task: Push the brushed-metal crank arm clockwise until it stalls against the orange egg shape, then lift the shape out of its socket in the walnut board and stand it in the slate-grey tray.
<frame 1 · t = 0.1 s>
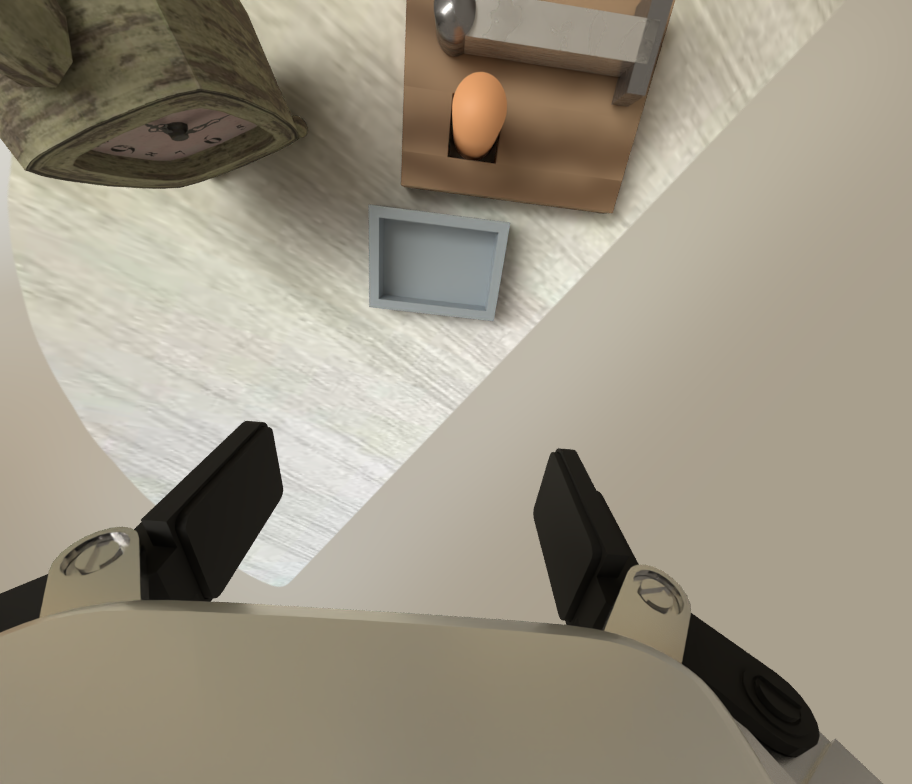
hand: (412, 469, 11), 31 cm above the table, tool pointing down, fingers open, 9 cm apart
crank arm: (545, 34, 25), point 5 cm above the table, hinge at 0.0°
parts tray: (437, 263, 37), on the table
orange egg shape: (473, 135, 32), resting in crank board
tabletop clock: (238, 116, 31), on the table
crank board: (519, 108, 31), on the table
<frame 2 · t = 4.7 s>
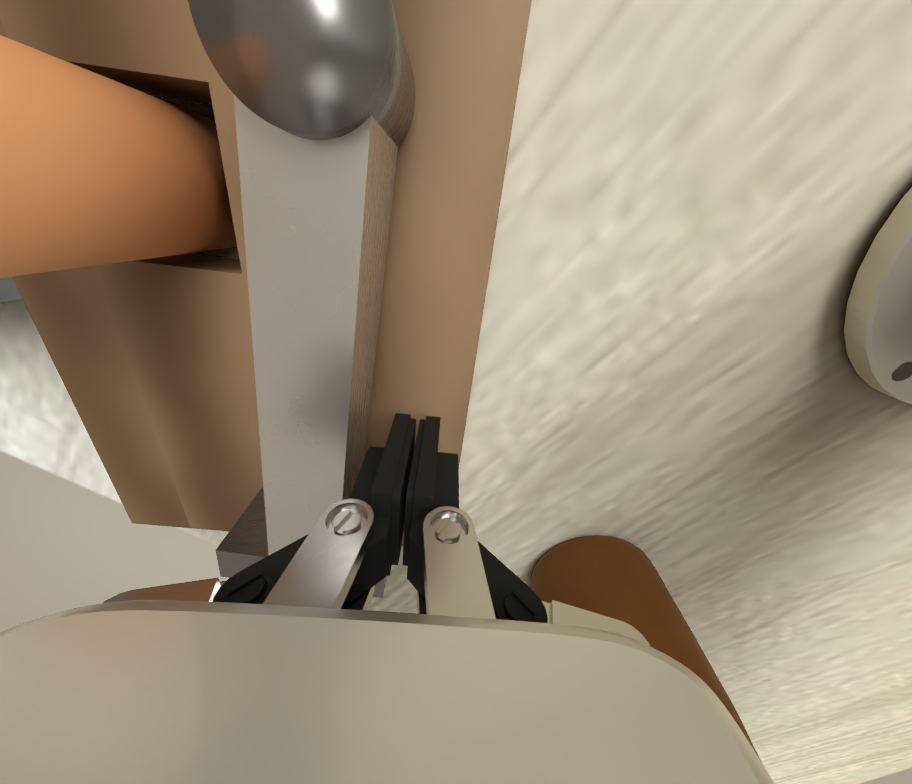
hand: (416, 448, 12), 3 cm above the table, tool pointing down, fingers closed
crank arm: (320, 374, 10), point 5 cm above the table, hinge at -5.6°, touching gripper
mug: (557, 581, 22), on the table
orange egg shape: (204, 185, 11), resting in crank board
crank board: (290, 309, 13), on the table
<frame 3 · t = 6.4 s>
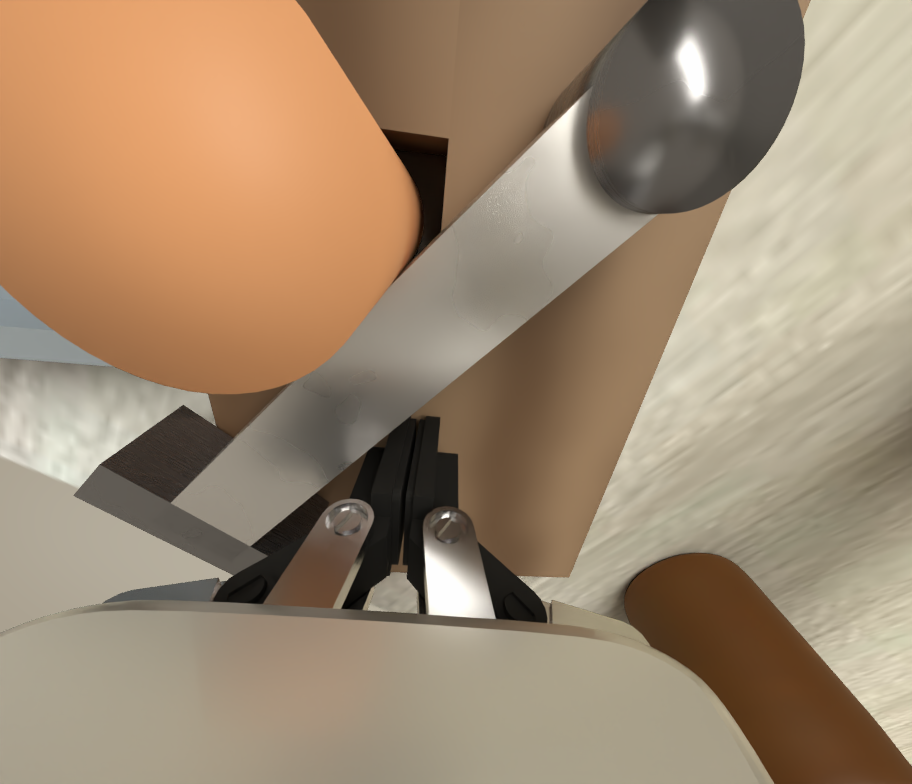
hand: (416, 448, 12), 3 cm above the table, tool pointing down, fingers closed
crank arm: (391, 352, 8), point 5 cm above the table, hinge at -42.4°, touching gripper, orange egg shape
mug: (645, 598, 22), on the table
orange egg shape: (364, 216, 11), resting in crank board, touching crank arm
crank board: (436, 346, 13), on the table
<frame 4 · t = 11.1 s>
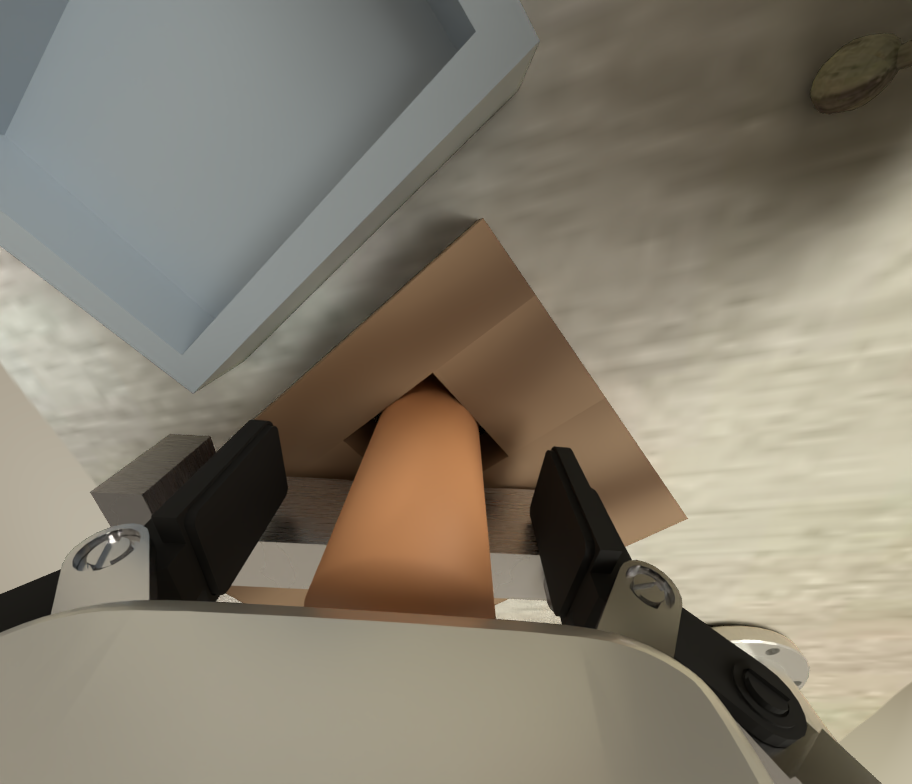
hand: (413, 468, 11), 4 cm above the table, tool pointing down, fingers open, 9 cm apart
crank arm: (390, 539, 12), point 5 cm above the table, hinge at -42.2°, touching orange egg shape
parts tray: (239, 112, 10), on the table
orange egg shape: (432, 407, 15), resting in crank board, touching crank arm
crank board: (404, 488, 17), on the table
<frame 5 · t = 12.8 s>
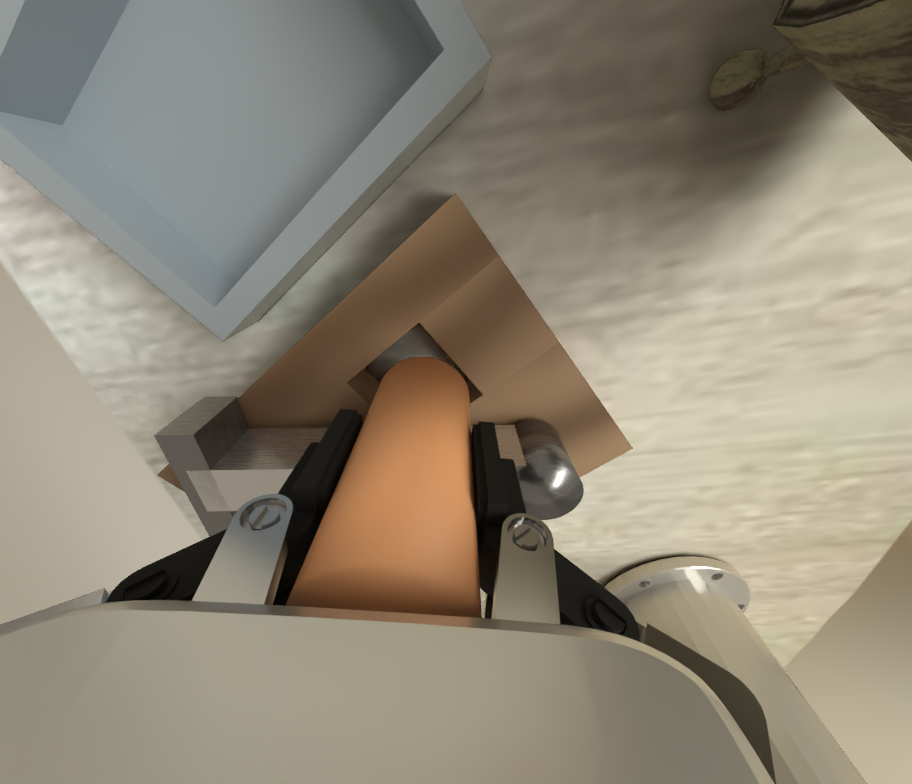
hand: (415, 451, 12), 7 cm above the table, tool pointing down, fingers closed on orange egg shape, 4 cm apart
crank arm: (387, 469, 15), point 5 cm above the table, hinge at -38.6°
parts tray: (257, 106, 13), on the table
orange egg shape: (424, 398, 15), point 4 cm above the table, touching gripper
crank board: (398, 434, 20), on the table
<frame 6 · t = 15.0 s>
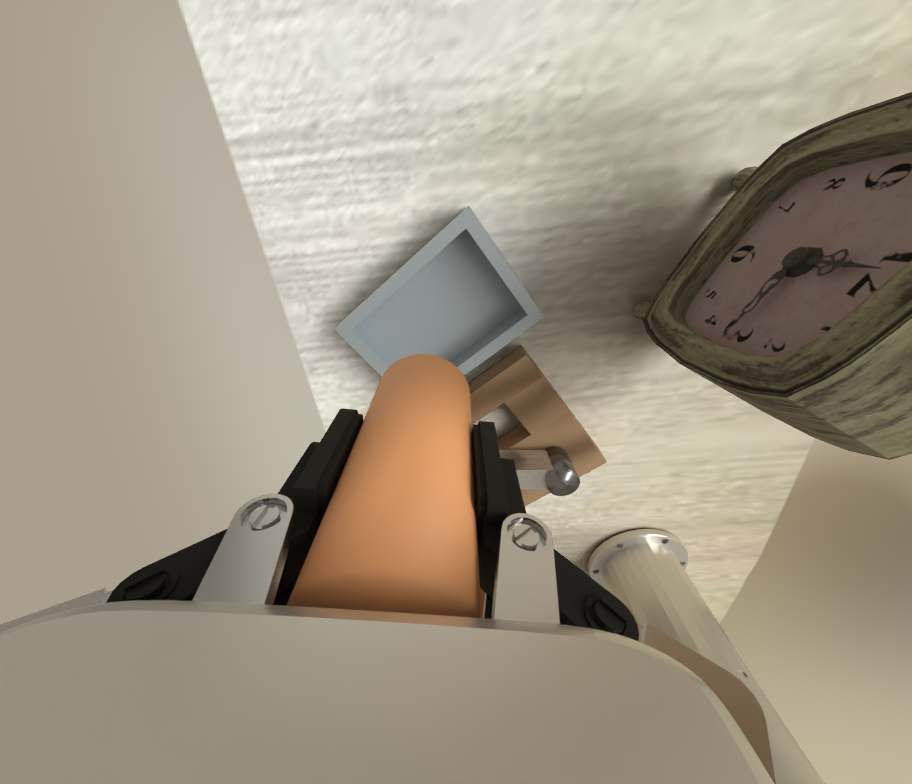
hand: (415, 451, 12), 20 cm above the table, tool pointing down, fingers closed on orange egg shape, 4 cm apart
crank arm: (485, 471, 32), point 5 cm above the table, hinge at -38.4°
parts tray: (440, 313, 29), on the table
orange egg shape: (424, 395, 14), point 16 cm above the table, touching gripper
tabletop clock: (707, 266, 28), on the table
crank board: (479, 452, 36), on the table
when the fingers open (4 cm above the table, at t = 18.2 s): orange egg shape stays where it is, resting on parts tray.
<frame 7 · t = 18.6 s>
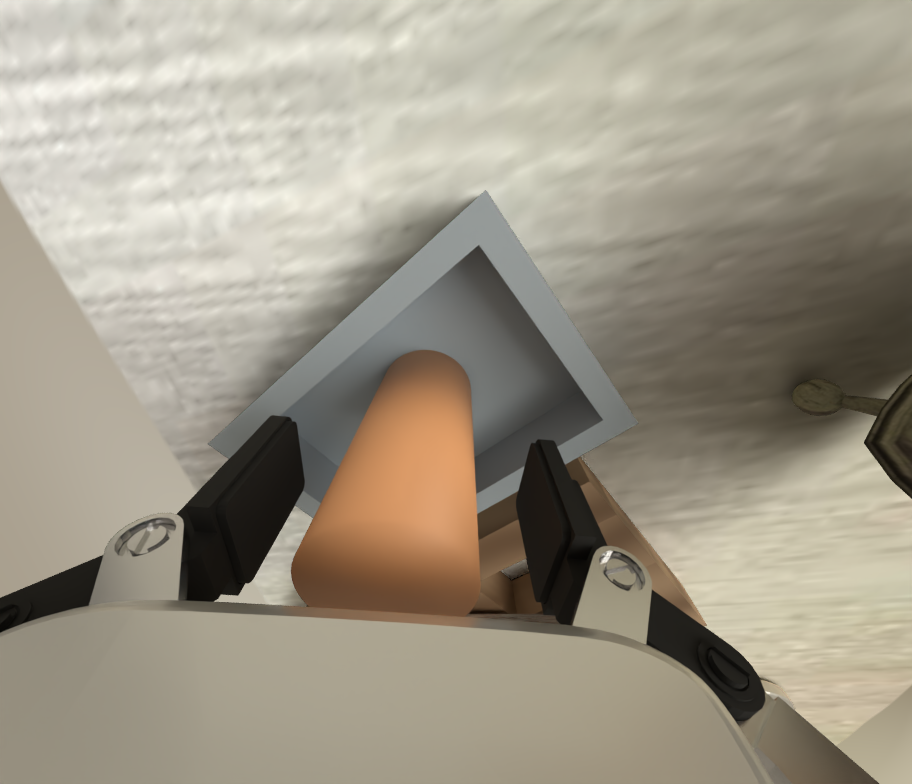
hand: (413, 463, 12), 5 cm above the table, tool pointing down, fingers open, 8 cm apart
crank arm: (507, 659, 18), point 5 cm above the table, hinge at -38.4°
parts tray: (425, 397, 16), on the table
orange egg shape: (427, 391, 15), point 1 cm above the table, touching parts tray
crank board: (493, 591, 23), on the table
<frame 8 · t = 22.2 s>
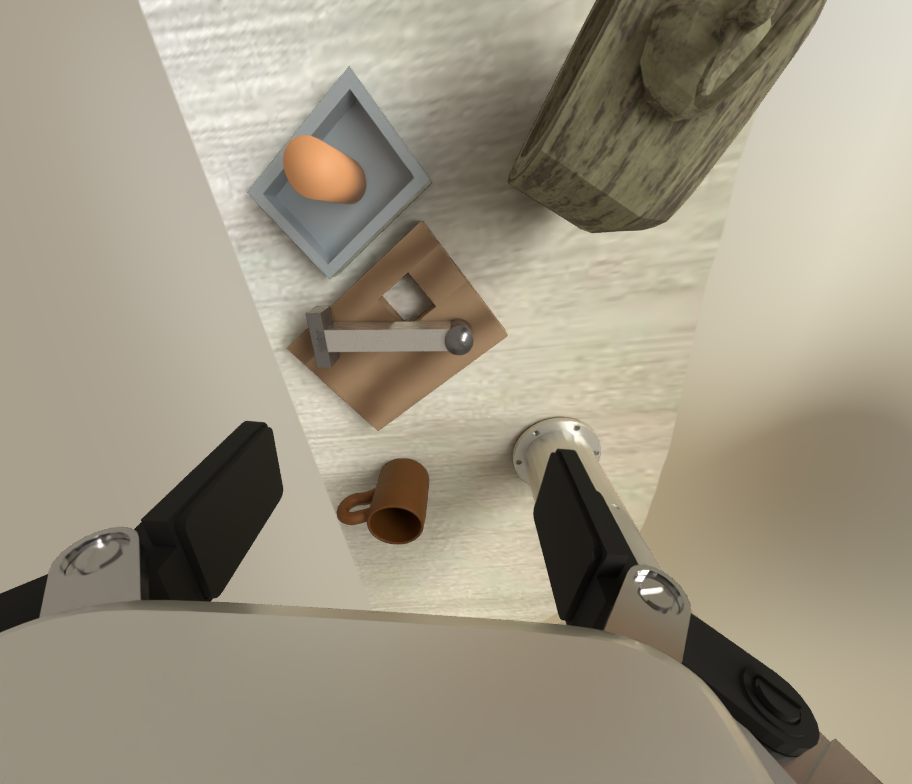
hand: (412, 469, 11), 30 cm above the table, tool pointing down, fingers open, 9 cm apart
crank arm: (394, 337, 36), point 5 cm above the table, hinge at -38.4°
parts tray: (347, 188, 33), on the table
mug: (391, 474, 51), on the table
orange egg shape: (346, 180, 33), resting on parts tray
tabletop clock: (575, 139, 32), on the table
crank board: (399, 335, 40), on the table
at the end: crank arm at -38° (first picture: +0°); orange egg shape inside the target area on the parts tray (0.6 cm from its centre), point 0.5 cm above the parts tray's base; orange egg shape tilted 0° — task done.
